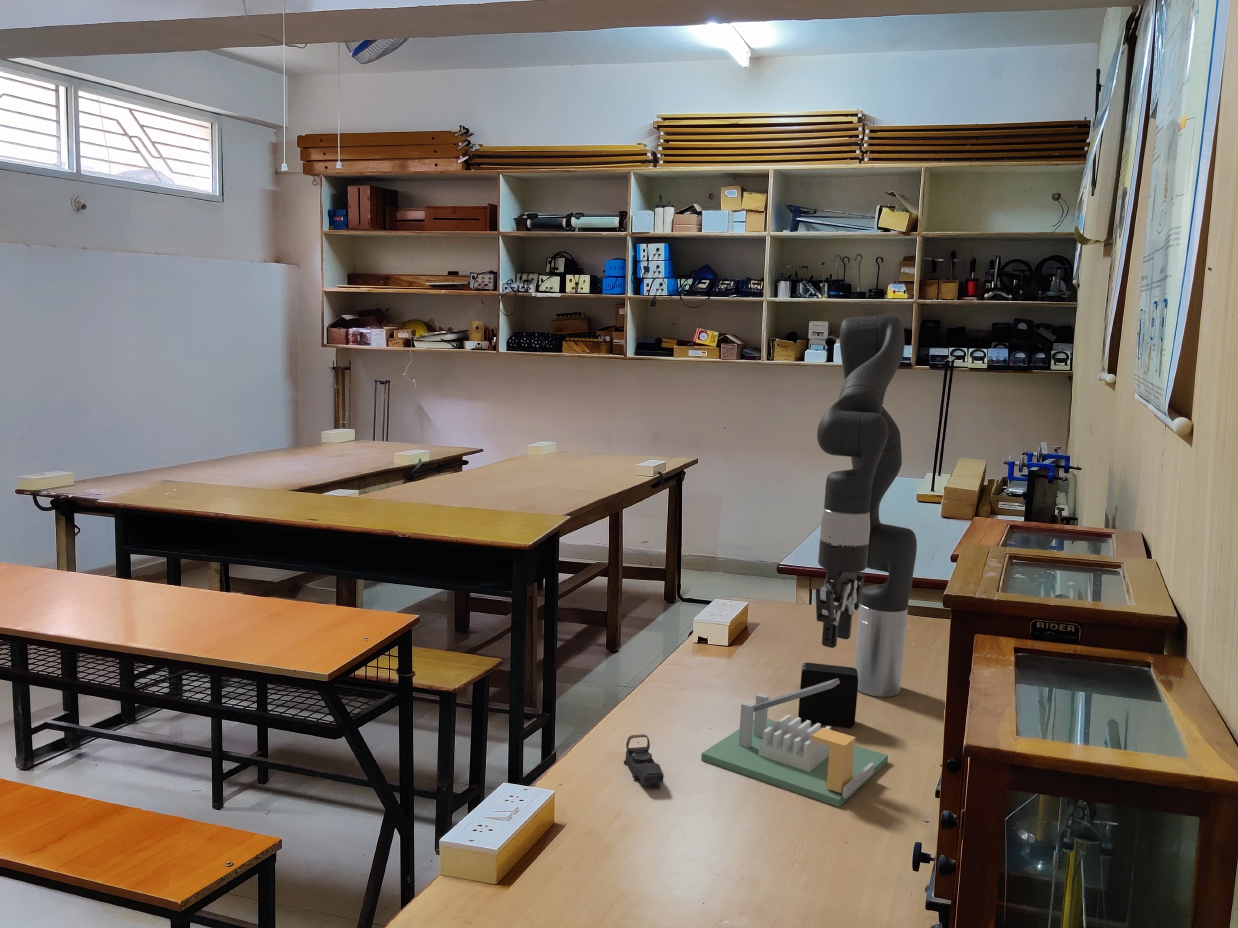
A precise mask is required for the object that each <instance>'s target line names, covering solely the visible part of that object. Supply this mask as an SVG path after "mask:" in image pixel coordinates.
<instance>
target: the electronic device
mask: <svg viewBox="0 0 1238 928" xmlns="http://www.w3.org/2000/svg"><path fill="white" fill-rule="evenodd" d="M800 675H801V677H800V685H799V686H800V687H799V690H801V689H805V688H808V687H811V686H814V685H817V684H821V683H824V682H827V681H830V680H834V679H837V678H838V679H839V681H840V683H839V684H838V685H836V686H835V687H833V688H831V689H828V690H824V691H821V692H818V693H814V694H811V695H808V696H805V697H801V698H798V699H799V700H798V711H797V712H798V713H797V717H799V718H801V724H803V723H804V722H805V721H807V720H809V721H811V725H815V724H817V723H819V724H821V726H825V727H827V726H830V727H834V728H835V727H837V728H844V729H852V728H854V727H855V724H856V713H857V703H858V701H857V700H858V692H859V691H858V672H857V670H856V669H855V668H854V667H852V666H843V665H835V664H824V663H816V662H804V663H802V664H801V674H800Z"/></svg>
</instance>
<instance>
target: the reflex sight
mask: <svg viewBox="0 0 1238 928" xmlns="http://www.w3.org/2000/svg"><path fill="white" fill-rule="evenodd" d="M636 738H639V739H640V738H646V740H647V743H646V746H641V747H640V746H639V747H638V746H637V747H629V746H630V743H631V740H632V739H636ZM636 743H637V744H639V741H638V742H636ZM650 746H651V744H650V739H649V736H648V735H647V734H644V733H643V734H630V735H629V736H628V738H627V741H626V745H625V747H626V751H625V757H624V758H625V759H624V760H623V764H624V765H626V766H627V769H628V770H629V772H630V773H631V775H632V776H631V777H632V779H634V781H639V785H640V786H641V787H643V788H645V789H657V790H660V788H661V783H664V772H663V770H662V768H661V765H660V764H659V763H657V762H655V760H654V758H653V754H652V753H650V752H649V750H650Z"/></svg>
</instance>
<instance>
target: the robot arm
mask: <svg viewBox="0 0 1238 928" xmlns="http://www.w3.org/2000/svg"><path fill="white" fill-rule="evenodd" d="M905 344H906V343H905V329H904V325H903V322H902V321H901V319H900V318H899V317H898V316H895V315H889V314H888V315H886V314H884V315H881V314H880V315H871V316H870V315H868V316H866V315H865V316H856V317H854V316H853V317H847V318H845V319H843V321H842V322H841V324H840V328H839V351H840V357H841V365H842V371H843V377H844V381H843V384H842V386H841V389H840V393H839V396H838V399H837V400H836V401H835V402H834V403H833V404H831V406H830V407H828V409H827V410H826V411H825V412H824V414H823V415H822V416H821V419H820V421H819V424H818V426H817V431H816V432H817V433H816V438H817V444H818V445H819V447H820V449H821V450H822V451H823V452H824V453H826V454H828V455H831V456H838V457H849V458H850V457H851V466H852V469H851V468H850V469H844V470H836V471H832V472H830V473H829V474H828V475H827V477H826V480H825V481H826V482H825V489H824V490H825V491H824V505H823V512H822V516H821V521H820V534H819V547H818V559H817V563H818V565H819V567H821V568H822V569H825V570H826V576H825V579H824V583H823V586H820V585H817V586H816V588H815V604H816V605H815V609H816V610H815V612H816V621H817V622H820V623H822V635H821V636H822V638H821V644H822V646H824V647H826V648H831V649H834V648H836V647H837V645H838V639H843V640H849V639H850V638H851V636H852V635H851V634H852V624H853V623H852V622H853V617H854V615H855V613H856V611H858V617H857V618H858V619H857V632H856V642H855V643H856V645H855V656H854V667H853V668H855V669H856V670H857V672H858V692H860V693H862V694H865V695H869V696H874V697H881V698H884V697H885V698H886V697H887V698H888V697H894V696H897V695H899V694H900V693H901V686H902V685H901V684H902V674H903V664H904V656H905V643H906V642H905V641H906V631H907V621H908V609H909V600H910V597H911V594H912V593H911V591H912V586H913V580H914V579H913V578H914V569H915V564H916V558H917V552H918V551H917V546H918V543H917V542H918V540H917V536H916V533H915V532H914V531H913V529H911V528H907V527H902V526H898V525H897V526H896V525H892V524H886V523H881V520H880V514H879V513H880V504H881V502H882V500H883V497H884V496H885V495H886V493H887V491H888V490H889V489H890V487H891V485H892V484H893V483H894V481H895V480H896V478H897V477H898V475H899V472H900V471H901V468H902V463H903V457H902V456H903V455H902V439H901V432H900V429H899V427H898V425H897V423H896V421H895V420H894V419H893V417H892V416H891V415H890V414H889V412H888V411H887V409H886V408H885V407H884V406H883V405H884V401H885V400H884V399H885V395H886V391H887V389H888V386H889V385H890V383H891V382H892V380H893V378H894V376H895V374H896V372H897V370H898V368H899V367H900V365H901V362H902V360H903V356H904V354H905V353H904V352H905ZM866 569H870V570H875V571H879V572H883V573H888V575H887V581H885V582H884V583H879V584H872V585H867V586H865V587H864V581H865V573H861V572H863V571H865V570H866ZM835 603H836V604H835Z"/></svg>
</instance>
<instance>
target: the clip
mask: <svg viewBox="0 0 1238 928" xmlns="http://www.w3.org/2000/svg"><path fill="white" fill-rule="evenodd" d="M811 741H815V742H818V743H821V744H824V745H828V746H830V749H829V762H828V774H827V786H826V788H827V789H830V790H833V791H836V792H839V793H842V792H843V787H844V786H845V785H846V784H847V783H848V782H849V781H851V780H852V773H853V761H854V749H855V745H856V736H852V735H849V734H847V733H842V732H839V731H836V730H832V729H831V730H830V729H826V728H825V727H821V728H820V730H819V731H817V732H816V733H815V734H813V735H812V740H811Z"/></svg>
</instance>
